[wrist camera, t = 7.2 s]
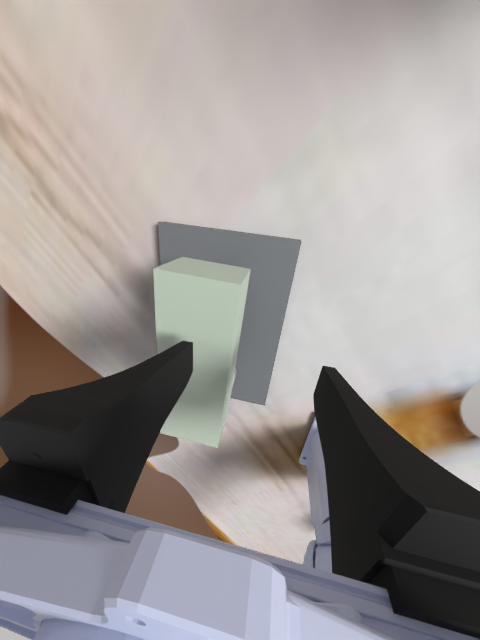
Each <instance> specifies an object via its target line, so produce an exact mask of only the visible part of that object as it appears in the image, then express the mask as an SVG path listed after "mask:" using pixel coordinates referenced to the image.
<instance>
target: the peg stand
mask: <svg viewBox="0 0 480 640" xmlns="http://www.w3.org/2000/svg"><path fill="white" fill-rule="evenodd" d="M158 231H159V250H160V266H161V265H163V264H166V263H168V262H171V261H173V260H176V259H178V258H181V257H187V258H192V259H198V260H204V261H209V262H215V263H220V264H226V265H232V266H237V267H243V268H249V269H251V271H250V277H249V283H248V290H247V296H246V302H245V309H244V315H243V321H242V328H241V334H240V340H239V347H238V353H237V359H236V366H235V372H234V378H233V385H232V391H231V397H230V398H233V399H238V400H242V401H247V402H251V403H256V404H260V405H265V402H266V397H267V393H268V388H269V384H270V379H271V375H272V370H273V366H274V361H275V357H276V353H277V348H278V344H279V339H280V335H281V330H282V326H283V321H284V317H285V312H286V308H287V303H288V299H289V294H290V290H291V285H292V281H293V276H294V272H295V267H296V263H297V258H298V254H299V250H300V245H301V240H297V239H289V238H282V237H274V236H267V235H259V234H252V233H244V232H237V231H229V230H222V229H214V228H207V227H199V226H192V225H184V224H177V223H169V222H158Z"/></svg>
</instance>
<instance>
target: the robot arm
mask: <svg viewBox="0 0 480 640" xmlns="http://www.w3.org/2000/svg"><path fill="white" fill-rule="evenodd" d="M192 372H193V342H188V341H181V342H179V343H177V344H175V345H174V346H172V347H170V348H168V349H167V350H165V351H163V352H161V353H159V354H158V355H156V356H154V357H152V358H150V359H148V360H146V361H144V362H142V363H140V364H138V365H136V366H134V367H131V368H129V369H127V370H124V371H122V372H119V373H117V374H114V375H111V376H108V377H105V378H102V379H99V380H96V381H93V382H89V383H86V384H82V385H78V386H75V387H70V388H67V389H62V390H57V391H52V392H47V393H42V394H37V395H31V396H30V397H28V398H27V399H26V400H24V401H23V402H22V403H20V404H19V405H17V406H16V407H14V408H13V409H12V410H10V411H9V412H7V413H6V414H5V415H3V416H2V417H0V446H1V448H2V449H3V451H4V453H5V454H6V456H7V457H8V459H9V461H8V462H7V463H6V464H5V465H4V466H2V467H1V468H0V626H1V627H3V628H6V629H8V630H10V631H13V632H15V633H17V634H20V635H22V636H24V637H27V638H29V639H31V640H480V491H478V490H476V489H475V488H473V487H472V486H470V485H468V484H467V483H465V482H464V481H462V480H461V479H459V478H458V477H456V476H455V475H453V474H452V473H450V472H449V471H447V470H446V469H444V468H443V467H442V466H440V465H439V464H437V463H436V462H434V461H433V460H432V459H430V458H429V457H428V456H426V455H425V454H424V453H422V452H421V451H420V450H418V449H417V448H416V447H415V446H413V445H412V444H411V443H409V442H408V441H407V440H406V439H404V438H403V437H402V436H401V435H400V434H398V433H397V432H396V431H395V430H394V429H393V428H392V427H390V426H389V425H388V424H387V423H386V422H385V421H384V420H383V419H381V418H380V417H379V416H378V415H377V414H376V413H375V412H374V411H373V410H372V409H371V408H370V407H369V406H368V405H367V404H366V403H365V402H364V400H363V399H362V398H361V397H360V396H359V395H358V394H357V393H356V392H355V391H354V389H353V388H352V387H351V386H350V385H349V384H348V383H347V381H346V380H345V379H344V378H343V377H342V375H341V374H340V373H339V372H338V371H337V370H336V369H335V368H332V367H327V366H323V367H322V370H321V373H320V376H319V379H318V382H317V385H316V389H315V392H314V411H315V418H314V421H313V423H312V426H311V428H310V431H309V434H308V436H307V439H306V442H305V444H304V447H303V450H302V452H301V455H300V457H299V463H300V464H301V465H305V466H307V477H308V487H309V498H310V508H311V517H312V521H313V525H314V527H315V534H316V540H312V541H311V542H310V543H309V545H308V547H307V551H306V553H305V556H304V562H303V565H302V564H299V563H295V562H292V561H288V560H285V559H281V558H278V557H274V556H271V555H267V554H264V553H261V552H257V551H254V550H250V549H247V548H243V547H240V546H236V545H233V544H229V543H226V542H222V541H219V540H216V539H212V538H208V537H205V536H202V535H198V534H195V533H191V532H188V531H184V530H181V529H177V528H174V527H171V526H167V525H164V524H160V523H157V522H153V521H150V520H146V519H143V518H139V517H136V516H132V515H129V514H125V510H126V508H127V505H128V503H129V501H130V498H131V496H132V493H133V490H134V488H135V486H136V483H137V481H138V479H139V476H140V474H141V472H142V469H143V467H144V465H145V463H146V460H147V458H148V456H149V454H150V452H151V449H152V447H153V445H154V443H155V441H156V439H157V437H158V434H159V433H160V430H161V428H162V426H163V425H164V423H165V421H166V419H167V418H168V416H169V414H170V413H171V411H172V409H173V408H174V406H175V404H176V403H177V401H178V400H179V398H180V396H181V395H182V393H183V391H184V390H185V388H186V386H187V384H188V382H189V379H190V377H191V375H192Z"/></svg>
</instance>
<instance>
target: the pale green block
mask: <svg viewBox="0 0 480 640" xmlns="http://www.w3.org/2000/svg"><path fill="white" fill-rule="evenodd" d="M250 271H251V269H249V268H243V267H237V266H232V265H226V264H220V263H215V262H209V261H204V260H198V259H192V258H187V257H181V258H178V259H176V260H173V261H171V262H168V263H166V264H163V265H161V266H158V267H156V268H153V276H154V299H155V321H156V344H157V355H158V354H159V353H161V352H163V351H165V350H167V349H168V348H170V347H172V346H174V345H175V344H177V343H179V342H181V341H188V342H193V372H192V375H191V377H190V379H189V382H188V384H187V386H186V388H185V390H184V391H183V393H182V395H181V396H180V398H179V400H178V401H177V403H176V404H175V406H174V408H173V409H172V411H171V413H170V414H169V416H168V418H167V419H166V421H165V423H164V425H163V426H162V428H161V430H160V433H163V434H166V435H170V436H174V437H177V438H181V439H185V440H189V441H193V442H196V443H200V444H204V445H208V446H211V447H215V448H218V445H219V442H220V438H221V435H222V431H223V428H224V424H225V421H226V417H227V413H228V410H229V404H230V397H231V391H232V385H233V378H234V372H235V366H236V359H237V353H238V347H239V340H240V334H241V328H242V321H243V315H244V309H245V302H246V296H247V290H248V283H249V277H250Z"/></svg>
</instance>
